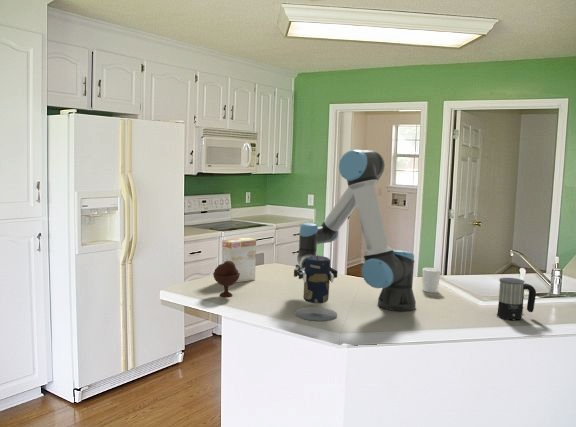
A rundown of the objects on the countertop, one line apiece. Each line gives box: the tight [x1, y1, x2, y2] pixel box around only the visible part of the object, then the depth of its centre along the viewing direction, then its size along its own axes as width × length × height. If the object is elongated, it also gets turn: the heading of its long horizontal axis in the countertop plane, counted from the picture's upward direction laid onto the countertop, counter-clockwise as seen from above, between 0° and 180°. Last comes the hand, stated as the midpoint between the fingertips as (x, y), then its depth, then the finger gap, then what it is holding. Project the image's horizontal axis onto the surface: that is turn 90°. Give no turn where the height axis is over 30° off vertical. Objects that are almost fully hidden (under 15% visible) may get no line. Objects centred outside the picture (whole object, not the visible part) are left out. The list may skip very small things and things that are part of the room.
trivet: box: [294, 306, 338, 322], centre depth 207 cm, size 16×16×1 cm
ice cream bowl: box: [212, 261, 240, 298], centre depth 229 cm, size 11×11×15 cm
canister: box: [303, 254, 331, 304], centre depth 206 cm, size 10×10×18 cm
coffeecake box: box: [221, 237, 257, 284], centre depth 255 cm, size 15×7×20 cm, turn 130°
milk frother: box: [496, 277, 537, 320], centre depth 217 cm, size 14×16×15 cm
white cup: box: [421, 267, 441, 294], centre depth 250 cm, size 8×8×10 cm
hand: (318, 278), depth 202 cm, fingers closed on canister, 9 cm apart
